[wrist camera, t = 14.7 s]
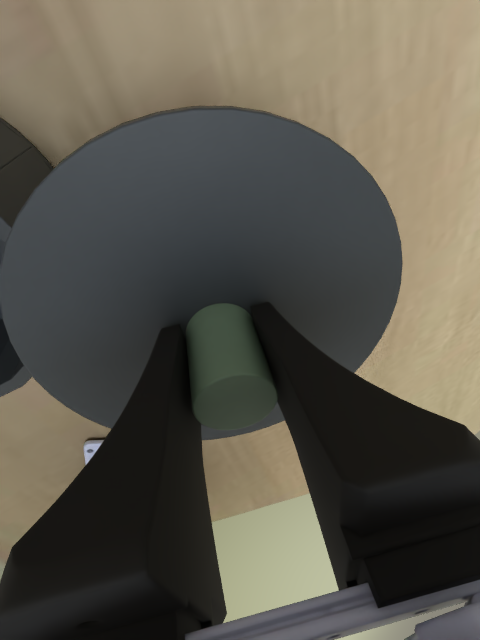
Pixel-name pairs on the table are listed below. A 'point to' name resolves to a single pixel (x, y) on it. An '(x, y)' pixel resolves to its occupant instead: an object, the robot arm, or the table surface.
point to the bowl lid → (197, 260)
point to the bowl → (3, 207)
